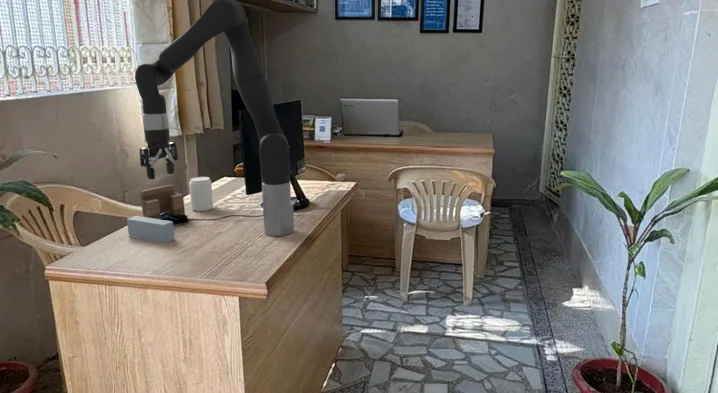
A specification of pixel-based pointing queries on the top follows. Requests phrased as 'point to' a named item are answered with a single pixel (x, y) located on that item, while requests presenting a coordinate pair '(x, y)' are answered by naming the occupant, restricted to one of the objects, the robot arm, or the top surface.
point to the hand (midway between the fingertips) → (161, 176)
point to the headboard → (161, 201)
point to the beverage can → (201, 193)
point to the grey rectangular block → (151, 229)
